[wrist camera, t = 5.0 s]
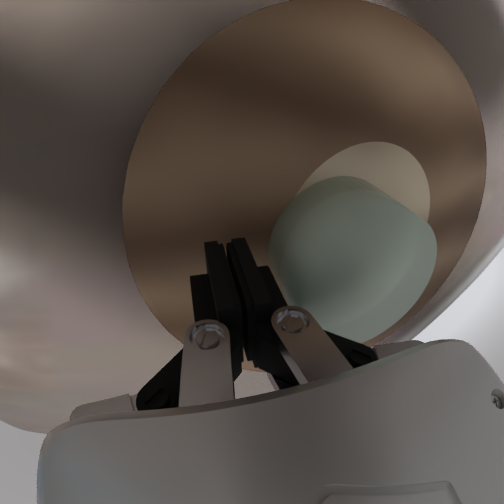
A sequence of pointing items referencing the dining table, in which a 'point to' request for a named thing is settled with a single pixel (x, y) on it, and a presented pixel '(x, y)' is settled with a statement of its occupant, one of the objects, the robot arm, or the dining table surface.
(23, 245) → the dining table surface
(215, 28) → the dining table surface
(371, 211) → the sage green rounded cylinder
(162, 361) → the dining table surface
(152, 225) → the disc
